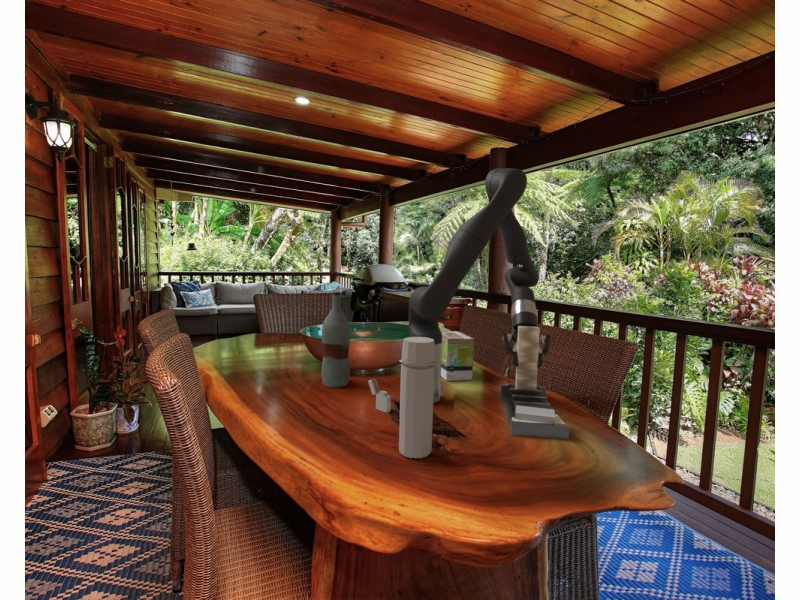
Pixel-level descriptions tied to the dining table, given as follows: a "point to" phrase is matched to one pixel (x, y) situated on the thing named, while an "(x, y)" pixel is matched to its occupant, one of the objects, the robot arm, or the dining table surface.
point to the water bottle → (416, 397)
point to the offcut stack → (536, 415)
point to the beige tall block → (527, 357)
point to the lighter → (380, 397)
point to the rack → (529, 399)
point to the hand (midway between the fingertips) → (527, 366)
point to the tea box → (457, 356)
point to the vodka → (335, 346)
